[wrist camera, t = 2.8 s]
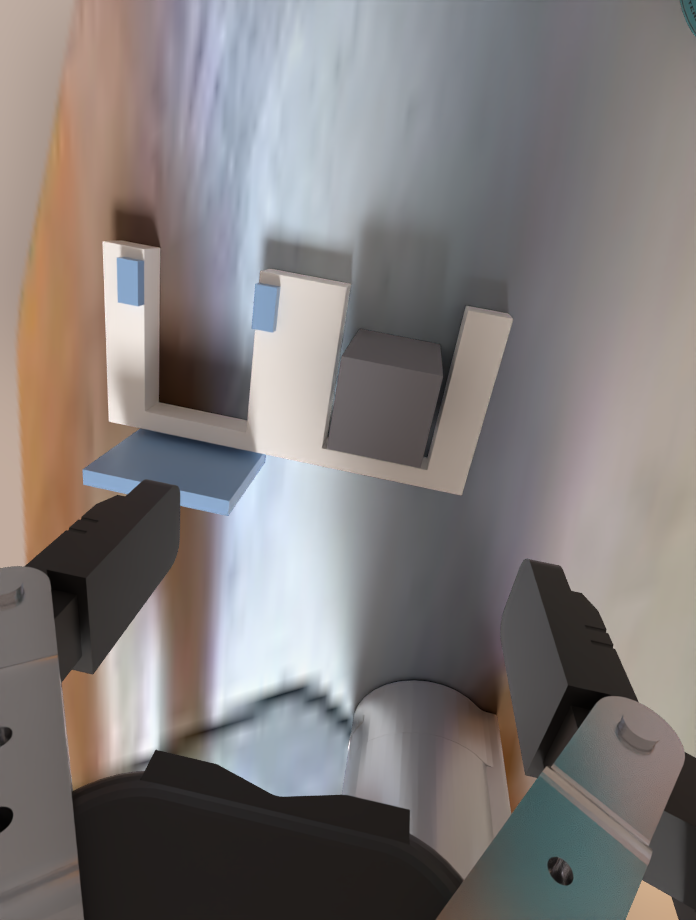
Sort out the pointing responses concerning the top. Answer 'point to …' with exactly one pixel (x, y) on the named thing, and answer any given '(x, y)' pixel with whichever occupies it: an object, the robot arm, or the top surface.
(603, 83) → the top surface
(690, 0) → the beverage bottle
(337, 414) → the plug
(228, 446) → the white prong rack
